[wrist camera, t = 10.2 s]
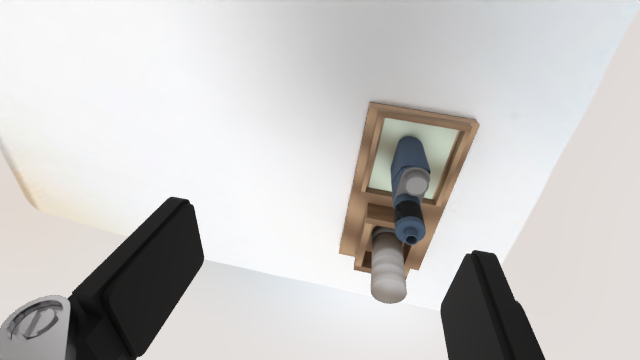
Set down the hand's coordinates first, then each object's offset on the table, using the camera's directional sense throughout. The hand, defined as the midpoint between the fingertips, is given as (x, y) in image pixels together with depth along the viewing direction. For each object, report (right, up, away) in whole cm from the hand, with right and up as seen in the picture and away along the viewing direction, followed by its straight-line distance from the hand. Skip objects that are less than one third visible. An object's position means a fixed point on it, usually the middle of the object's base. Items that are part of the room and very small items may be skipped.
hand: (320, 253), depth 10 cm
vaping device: (+9, +5, +22) cm, 25 cm away
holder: (+9, +1, +26) cm, 28 cm away
